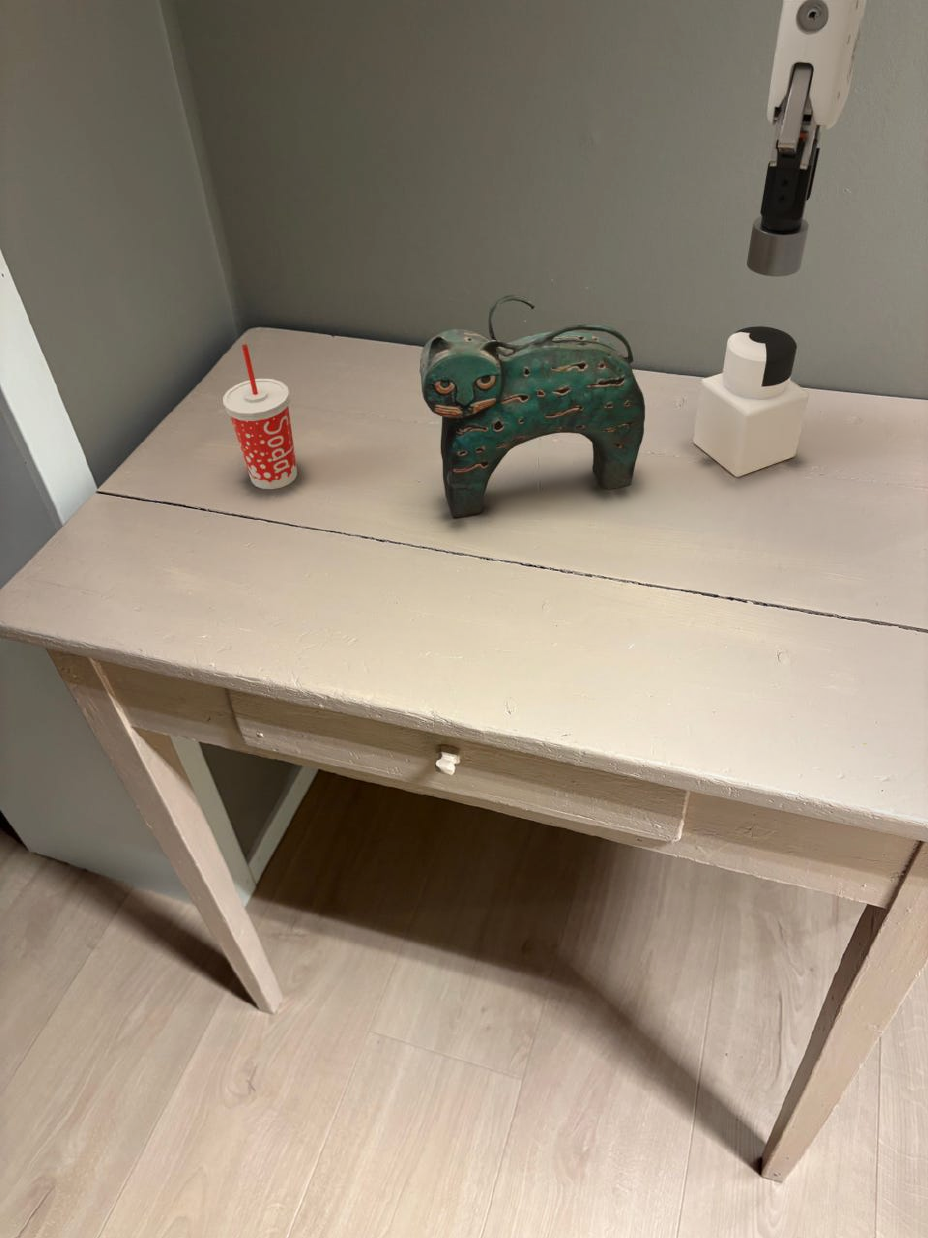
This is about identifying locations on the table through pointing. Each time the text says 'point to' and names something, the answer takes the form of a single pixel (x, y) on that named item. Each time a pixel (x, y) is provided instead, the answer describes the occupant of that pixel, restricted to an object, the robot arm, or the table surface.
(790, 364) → the medicine bottle
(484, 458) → the ceramic cat
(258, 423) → the beverage cup
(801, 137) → the robot arm
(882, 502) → the table surface
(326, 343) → the table surface
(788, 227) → the torch
